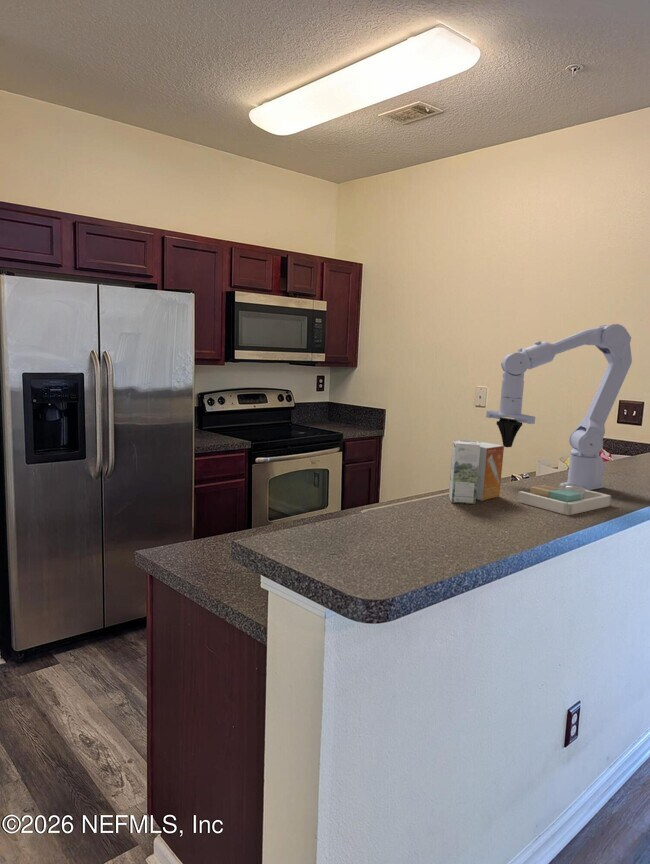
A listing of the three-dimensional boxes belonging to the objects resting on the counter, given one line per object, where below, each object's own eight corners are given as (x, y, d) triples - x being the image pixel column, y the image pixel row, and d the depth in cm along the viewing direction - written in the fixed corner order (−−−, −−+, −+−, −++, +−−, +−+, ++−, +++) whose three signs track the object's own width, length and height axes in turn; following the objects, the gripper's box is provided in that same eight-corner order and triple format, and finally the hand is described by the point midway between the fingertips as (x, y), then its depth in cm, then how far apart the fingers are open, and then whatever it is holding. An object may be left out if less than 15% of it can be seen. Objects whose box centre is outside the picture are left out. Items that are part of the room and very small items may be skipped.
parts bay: (560, 493, 158) (561, 484, 157) (610, 505, 147) (611, 495, 147) (517, 501, 147) (518, 491, 147) (568, 515, 136) (569, 504, 136)
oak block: (540, 500, 150) (542, 484, 149) (559, 505, 146) (560, 489, 145) (528, 503, 147) (530, 486, 146) (547, 508, 143) (548, 491, 142)
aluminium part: (569, 498, 153) (570, 482, 153) (587, 503, 149) (589, 487, 149) (557, 500, 150) (559, 485, 150) (576, 505, 146) (577, 489, 146)
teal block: (560, 505, 146) (562, 489, 146) (579, 510, 142) (581, 493, 142) (548, 507, 143) (549, 491, 143) (567, 513, 139) (568, 496, 139)
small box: (482, 501, 146) (487, 447, 144) (460, 496, 151) (464, 444, 149) (500, 496, 152) (504, 445, 150) (478, 491, 156) (482, 441, 154)
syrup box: (472, 498, 148) (476, 439, 146) (475, 505, 142) (480, 443, 140) (448, 497, 149) (452, 438, 147) (451, 503, 143) (455, 442, 141)
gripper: (480, 395, 169) (477, 443, 171) (525, 400, 158) (520, 452, 160) (496, 395, 174) (493, 442, 175) (541, 399, 162) (536, 450, 164)
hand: (507, 446), depth 168 cm, fingers closed
